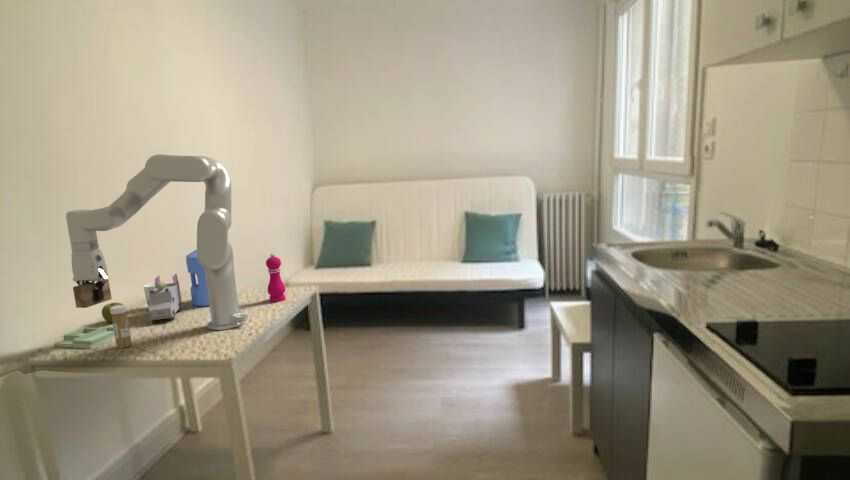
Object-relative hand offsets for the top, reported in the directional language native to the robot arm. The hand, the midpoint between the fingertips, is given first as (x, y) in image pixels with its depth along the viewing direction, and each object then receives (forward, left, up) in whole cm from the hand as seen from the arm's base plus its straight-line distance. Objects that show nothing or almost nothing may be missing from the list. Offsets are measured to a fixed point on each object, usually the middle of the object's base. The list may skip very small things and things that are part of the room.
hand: (93, 299), depth 170 cm
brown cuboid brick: (0, 0, -1) cm, 1 cm away
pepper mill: (-38, -50, -15) cm, 65 cm away
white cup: (+10, -36, -15) cm, 40 cm away
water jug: (-9, -46, -15) cm, 49 cm away
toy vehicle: (-4, -26, -15) cm, 30 cm away
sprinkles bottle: (-14, +4, -15) cm, 21 cm away
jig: (+4, 0, -14) cm, 15 cm away
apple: (+13, -18, -15) cm, 27 cm away
